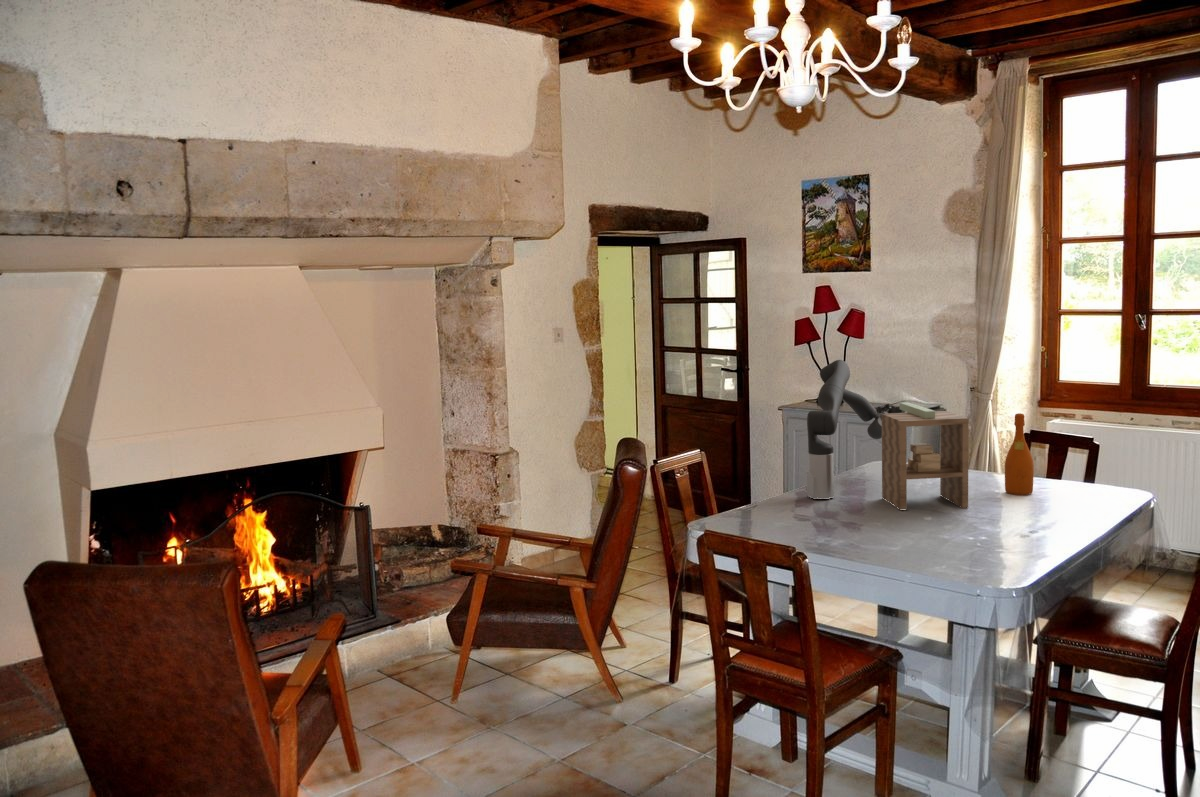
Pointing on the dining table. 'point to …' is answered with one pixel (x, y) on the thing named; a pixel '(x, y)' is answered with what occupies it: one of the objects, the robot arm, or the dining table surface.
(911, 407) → the slat
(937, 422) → the rack
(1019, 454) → the wine bottle
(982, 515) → the dining table surface
